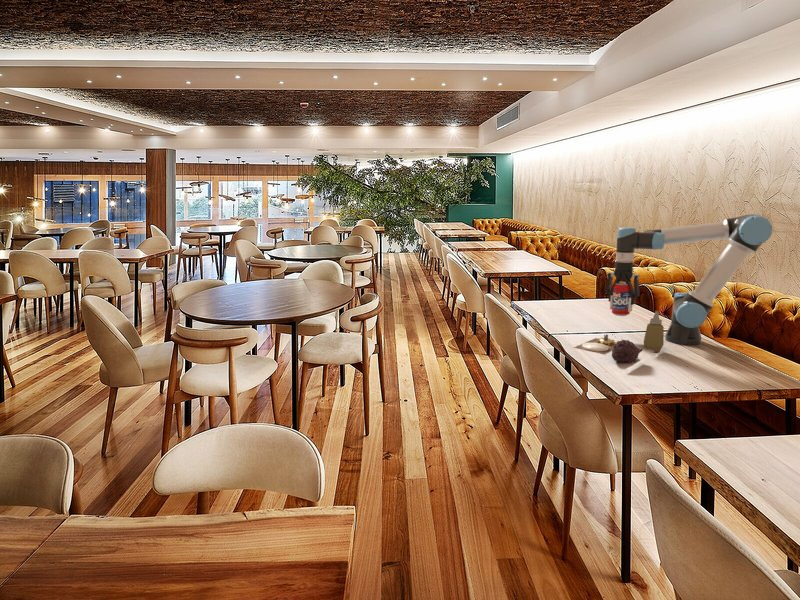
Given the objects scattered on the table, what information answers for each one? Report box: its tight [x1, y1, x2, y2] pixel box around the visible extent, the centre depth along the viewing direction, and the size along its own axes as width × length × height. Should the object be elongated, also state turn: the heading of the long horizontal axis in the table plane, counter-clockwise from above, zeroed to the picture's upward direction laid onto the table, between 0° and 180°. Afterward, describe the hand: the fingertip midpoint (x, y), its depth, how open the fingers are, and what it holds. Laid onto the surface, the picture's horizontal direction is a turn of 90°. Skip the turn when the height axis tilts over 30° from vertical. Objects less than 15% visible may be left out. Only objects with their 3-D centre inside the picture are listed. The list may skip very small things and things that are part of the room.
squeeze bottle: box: [643, 310, 665, 354], centre depth 235 cm, size 8×8×18 cm
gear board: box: [573, 337, 617, 356], centre depth 239 cm, size 14×22×2 cm, turn 136°
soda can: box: [611, 281, 631, 317], centre depth 249 cm, size 8×8×15 cm
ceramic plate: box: [581, 342, 609, 352], centre depth 236 cm, size 11×11×1 cm
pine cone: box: [611, 339, 643, 364], centre depth 218 cm, size 18×10×10 cm, turn 126°
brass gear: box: [596, 333, 615, 346], centre depth 243 cm, size 8×8×4 cm
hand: (620, 309), depth 250 cm, fingers closed on soda can, 8 cm apart
